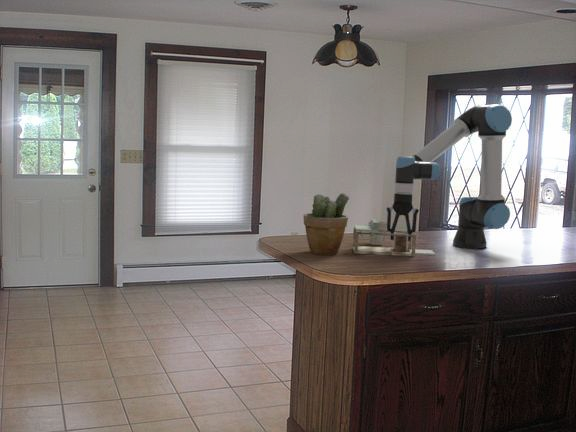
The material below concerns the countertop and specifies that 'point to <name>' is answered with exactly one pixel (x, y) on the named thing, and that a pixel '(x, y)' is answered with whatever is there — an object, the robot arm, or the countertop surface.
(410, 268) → the countertop surface
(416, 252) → the coaster
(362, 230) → the cover
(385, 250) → the grey rectangular frame
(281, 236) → the countertop surface
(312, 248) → the potted plant
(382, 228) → the mug
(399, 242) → the block
